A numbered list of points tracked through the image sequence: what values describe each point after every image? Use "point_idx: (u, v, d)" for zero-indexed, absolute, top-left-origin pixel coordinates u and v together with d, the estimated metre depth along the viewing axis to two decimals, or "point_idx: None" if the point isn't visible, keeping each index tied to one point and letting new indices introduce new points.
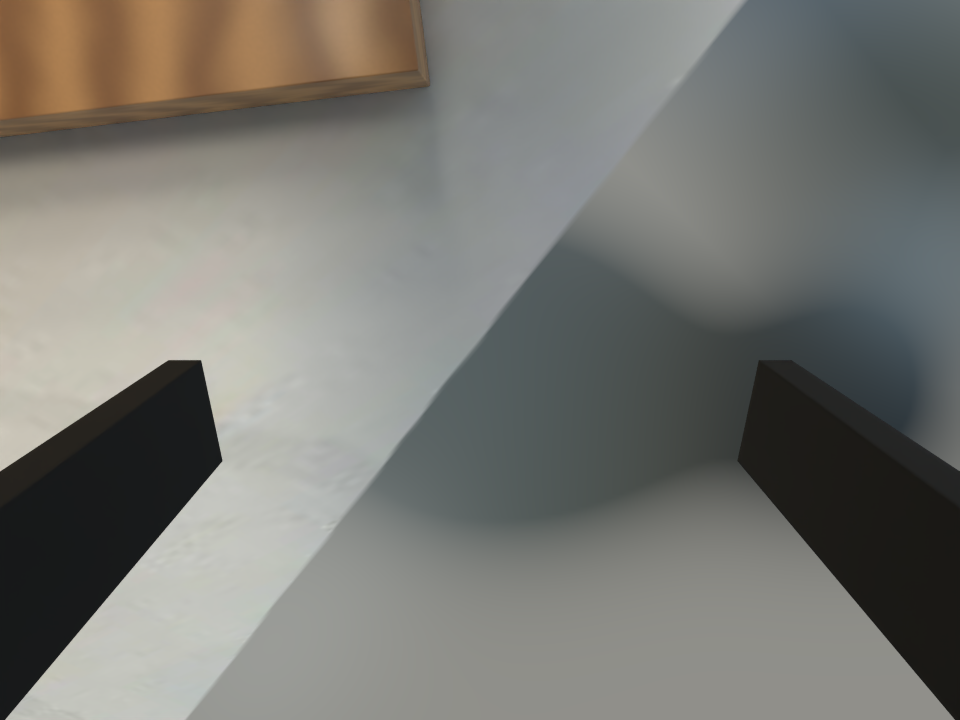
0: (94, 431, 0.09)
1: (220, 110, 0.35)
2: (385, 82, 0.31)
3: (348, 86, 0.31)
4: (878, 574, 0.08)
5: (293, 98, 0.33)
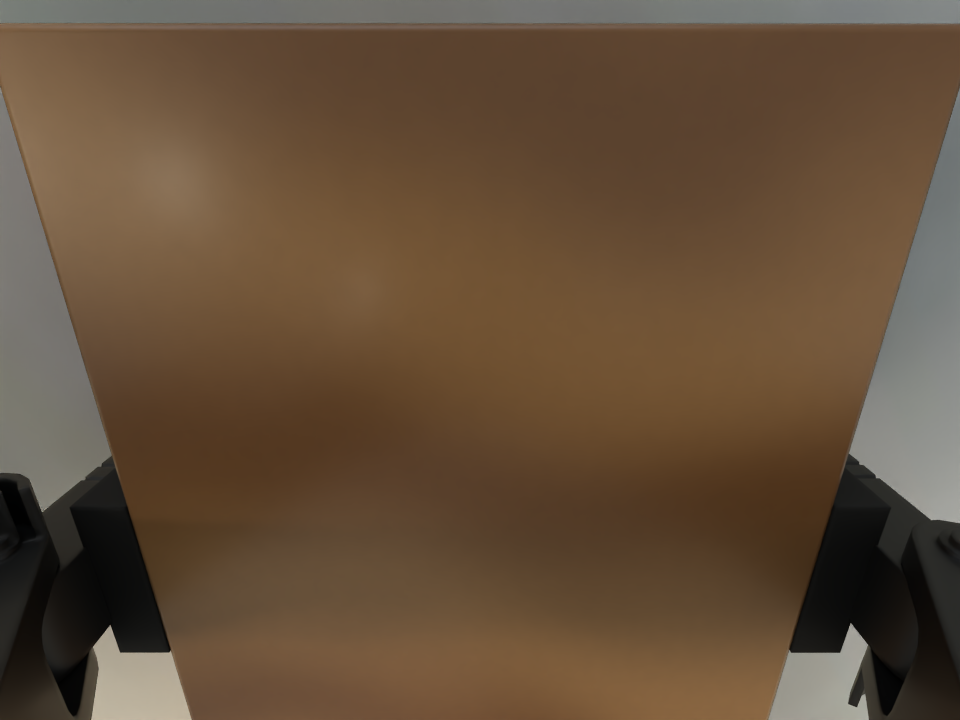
0: None
1: None
2: None
3: None
4: None
5: None
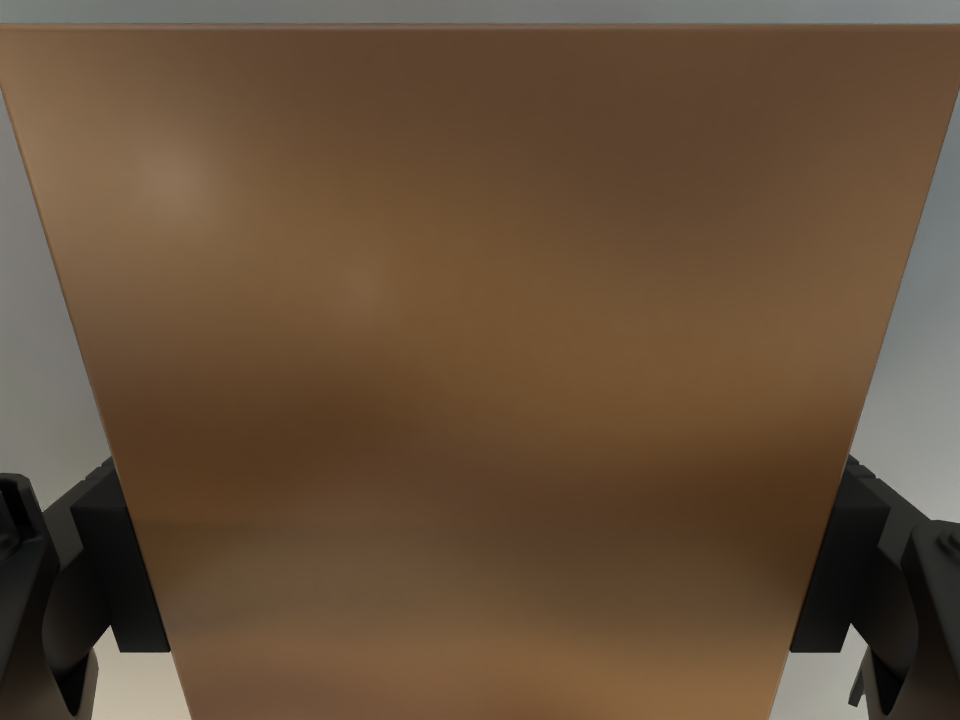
0: None
1: None
2: None
3: None
4: None
5: None
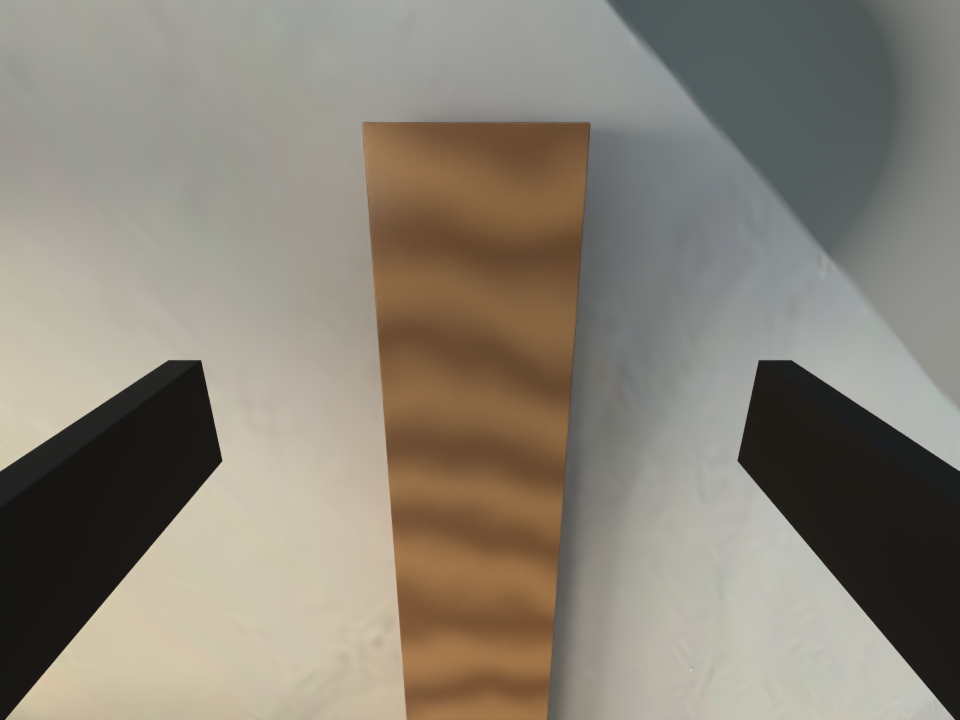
0: (94, 431, 0.09)
1: None
2: None
3: None
4: (879, 574, 0.08)
5: None
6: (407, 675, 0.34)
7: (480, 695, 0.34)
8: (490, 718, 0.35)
